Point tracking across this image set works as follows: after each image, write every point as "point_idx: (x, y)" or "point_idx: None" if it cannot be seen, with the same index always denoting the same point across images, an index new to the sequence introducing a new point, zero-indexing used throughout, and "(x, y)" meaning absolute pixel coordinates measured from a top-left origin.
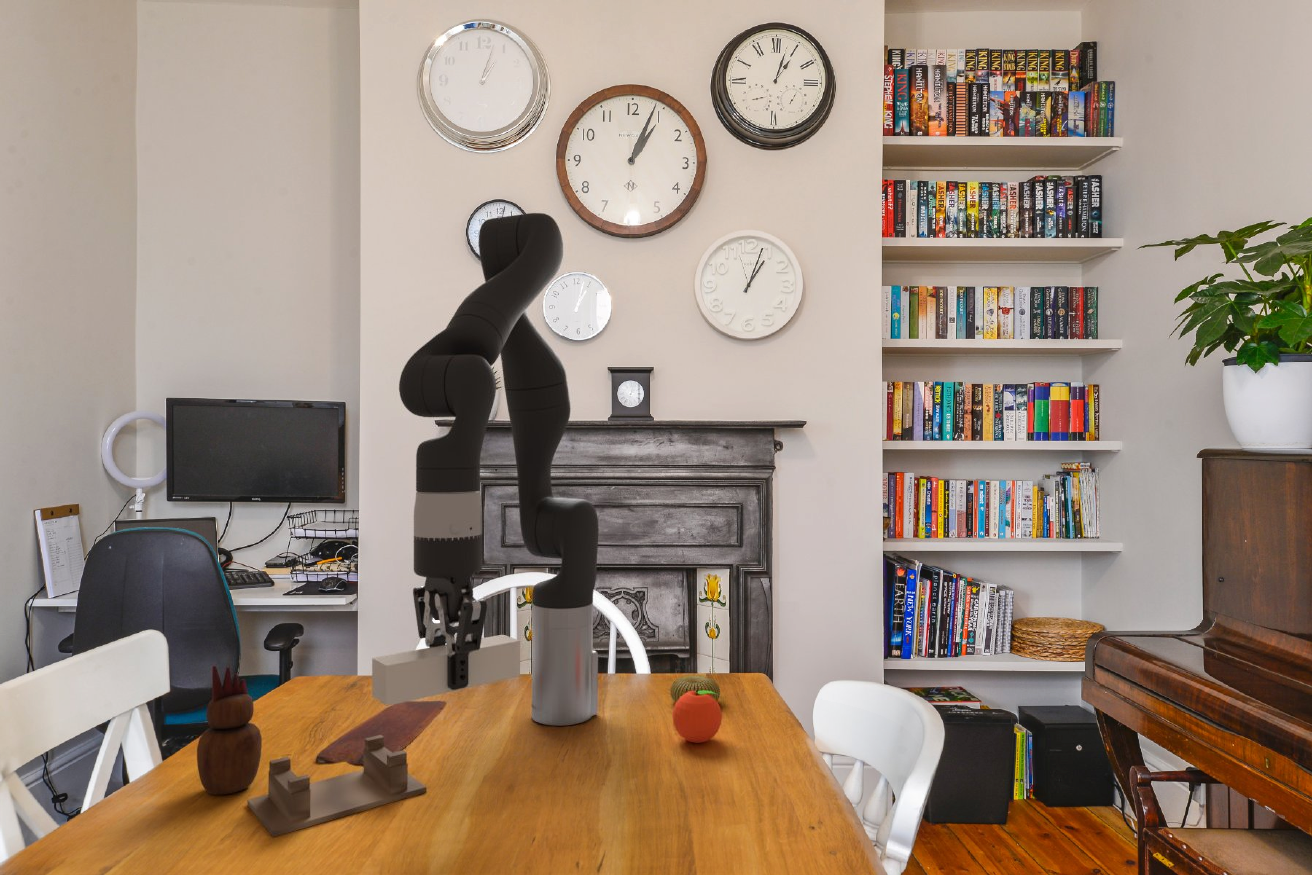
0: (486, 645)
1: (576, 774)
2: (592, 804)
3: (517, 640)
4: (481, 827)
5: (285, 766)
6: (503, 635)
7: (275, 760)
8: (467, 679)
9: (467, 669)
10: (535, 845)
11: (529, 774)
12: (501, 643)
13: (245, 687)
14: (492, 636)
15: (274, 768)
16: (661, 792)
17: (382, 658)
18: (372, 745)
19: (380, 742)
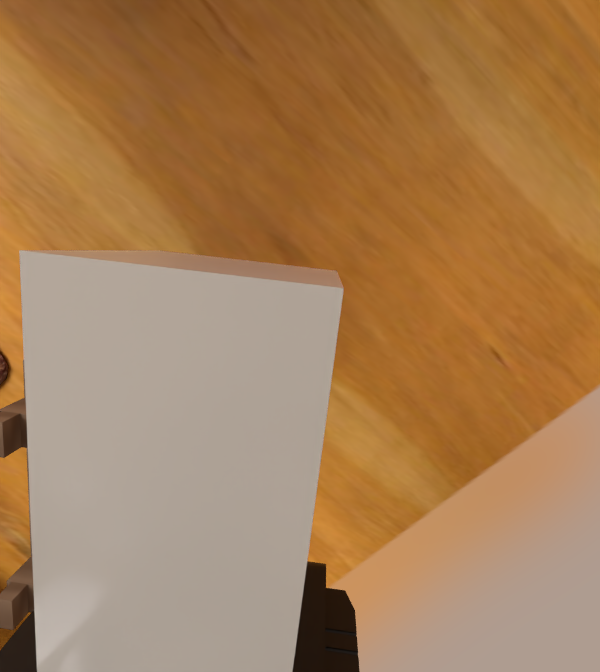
0: (264, 570)
1: (336, 90)
2: (482, 176)
3: (319, 299)
4: (386, 390)
5: (21, 598)
6: (55, 268)
7: (2, 620)
8: (352, 609)
9: (355, 658)
10: (516, 367)
11: (257, 174)
12: (301, 461)
13: None
14: (27, 361)
15: (21, 616)
16: (572, 3)
17: None
18: (14, 441)
19: (11, 425)
